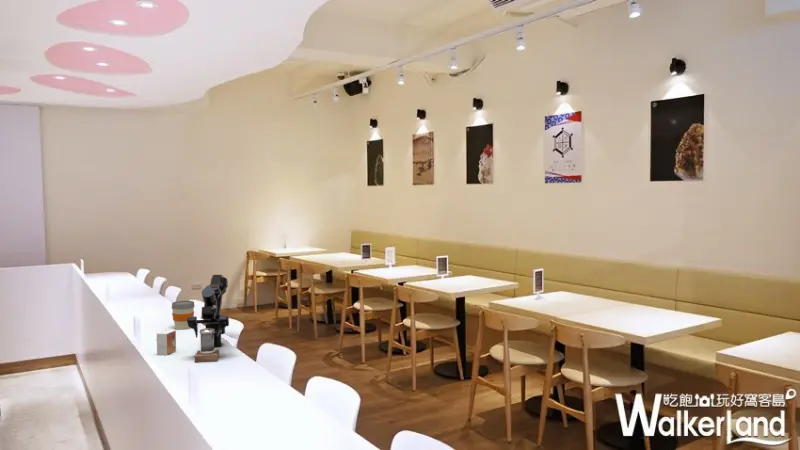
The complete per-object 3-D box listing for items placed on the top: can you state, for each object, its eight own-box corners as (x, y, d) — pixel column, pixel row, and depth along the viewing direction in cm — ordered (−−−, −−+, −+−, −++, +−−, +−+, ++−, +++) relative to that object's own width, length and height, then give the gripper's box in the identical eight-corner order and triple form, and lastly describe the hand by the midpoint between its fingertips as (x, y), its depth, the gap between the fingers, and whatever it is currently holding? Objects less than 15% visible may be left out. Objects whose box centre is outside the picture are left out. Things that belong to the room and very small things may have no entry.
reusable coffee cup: (199, 327, 345) (199, 302, 344) (181, 331, 334) (180, 305, 334) (185, 324, 352) (185, 299, 351) (167, 328, 341) (166, 303, 340)
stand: (197, 356, 283) (197, 350, 283) (219, 355, 285) (219, 349, 285) (194, 362, 273) (194, 356, 273) (217, 361, 275) (217, 355, 275)
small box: (167, 355, 285) (166, 334, 285) (156, 354, 286) (156, 333, 286) (176, 351, 293) (176, 330, 293) (166, 350, 294) (165, 329, 294)
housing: (198, 352, 280) (198, 329, 279) (212, 350, 284) (212, 327, 283) (202, 355, 275) (202, 332, 274) (216, 353, 278) (216, 330, 278)
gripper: (187, 299, 280) (183, 328, 270) (228, 298, 283) (225, 326, 273) (190, 313, 288) (186, 340, 278) (230, 311, 291) (227, 339, 281)
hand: (206, 336), depth 277 cm, fingers open, 9 cm apart
